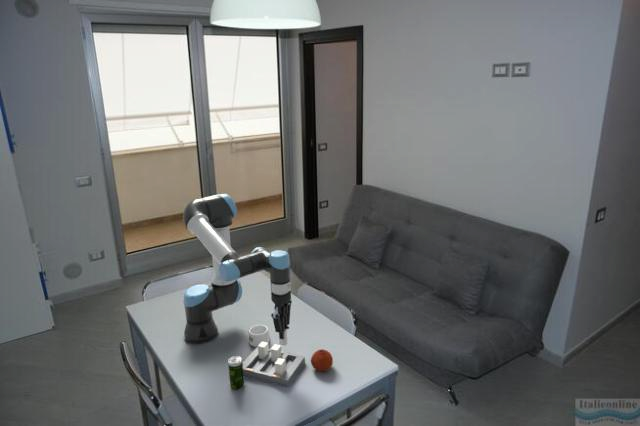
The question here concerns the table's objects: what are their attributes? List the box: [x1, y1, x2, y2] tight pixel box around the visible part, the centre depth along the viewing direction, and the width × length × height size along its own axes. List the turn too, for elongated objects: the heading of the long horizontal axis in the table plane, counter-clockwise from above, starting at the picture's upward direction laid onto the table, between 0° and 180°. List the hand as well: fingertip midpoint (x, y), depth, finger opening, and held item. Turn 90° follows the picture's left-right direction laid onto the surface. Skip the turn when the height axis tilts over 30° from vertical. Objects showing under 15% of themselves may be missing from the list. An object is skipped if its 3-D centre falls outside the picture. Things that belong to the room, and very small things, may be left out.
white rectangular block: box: [258, 341, 270, 360], centre depth 189 cm, size 3×4×6 cm
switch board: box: [242, 347, 306, 387], centre depth 184 cm, size 22×16×3 cm
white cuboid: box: [270, 343, 283, 362], centre depth 187 cm, size 3×4×6 cm
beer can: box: [227, 355, 245, 392], centre depth 173 cm, size 5×5×12 cm
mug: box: [247, 324, 271, 348], centre depth 204 cm, size 12×10×6 cm
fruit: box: [310, 348, 334, 372], centre depth 182 cm, size 9×9×8 cm
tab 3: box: [275, 358, 286, 377], centre depth 177 cm, size 3×4×6 cm
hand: (283, 344), depth 179 cm, fingers closed
